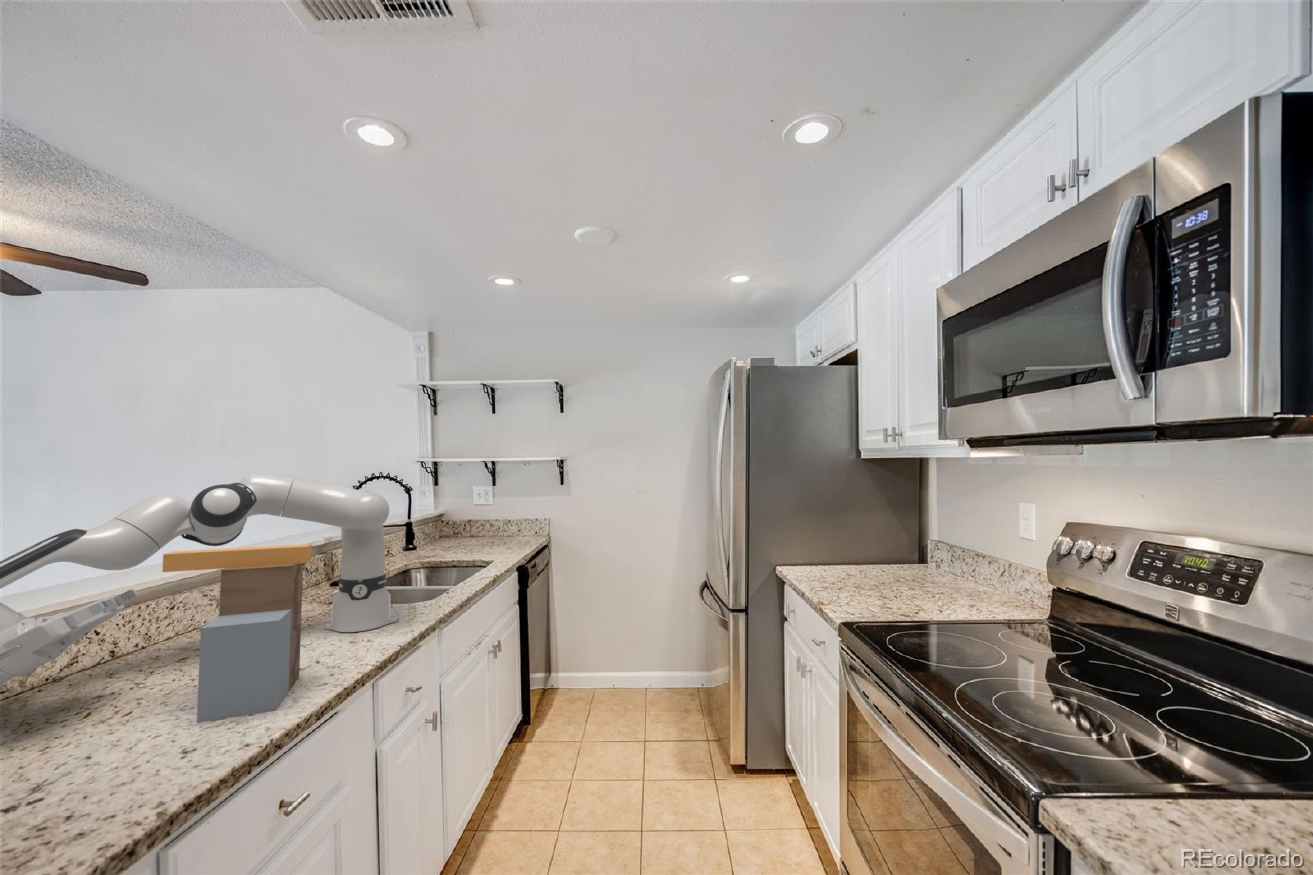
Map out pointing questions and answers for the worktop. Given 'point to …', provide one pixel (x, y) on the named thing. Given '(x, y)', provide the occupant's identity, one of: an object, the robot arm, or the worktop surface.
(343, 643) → the worktop surface
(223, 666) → the slate block
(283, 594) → the walnut stand
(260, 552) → the orange block
